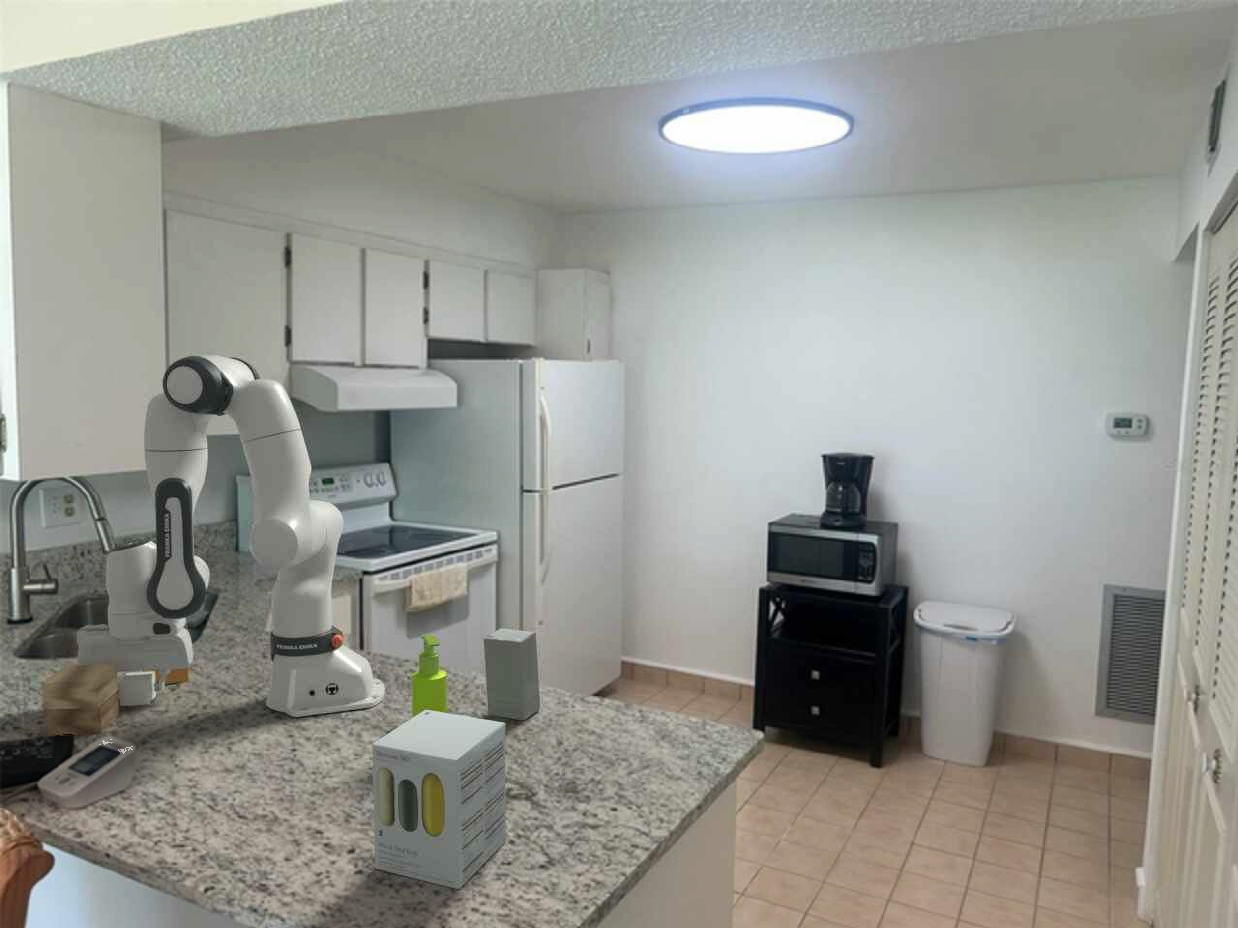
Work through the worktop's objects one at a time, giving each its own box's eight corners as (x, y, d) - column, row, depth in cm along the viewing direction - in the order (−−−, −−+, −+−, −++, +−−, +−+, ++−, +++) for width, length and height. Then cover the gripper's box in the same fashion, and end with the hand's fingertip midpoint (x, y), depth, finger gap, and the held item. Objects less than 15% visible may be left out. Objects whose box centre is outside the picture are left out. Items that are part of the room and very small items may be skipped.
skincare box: (540, 710, 173) (540, 630, 171) (521, 723, 167) (521, 641, 165) (503, 703, 177) (503, 625, 175) (483, 716, 170) (482, 635, 168)
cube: (156, 695, 180) (154, 671, 179) (148, 704, 175) (146, 679, 174) (129, 696, 179) (127, 672, 178) (120, 706, 174) (118, 681, 173)
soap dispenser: (419, 758, 152) (417, 644, 149) (409, 743, 158) (407, 632, 156) (453, 751, 154) (452, 639, 152) (441, 736, 161) (440, 628, 158)
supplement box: (371, 869, 119) (368, 743, 117) (427, 822, 131) (425, 707, 129) (459, 891, 114) (457, 760, 112) (508, 840, 126) (507, 721, 124)
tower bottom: (119, 714, 170) (118, 689, 169) (101, 734, 161) (100, 707, 161) (67, 717, 168) (65, 692, 168) (46, 737, 160) (44, 710, 159)
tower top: (118, 689, 169) (116, 663, 169) (98, 707, 161) (96, 680, 160) (66, 691, 168) (65, 665, 167) (43, 709, 159) (42, 682, 159)
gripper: (69, 630, 170) (73, 700, 172) (184, 625, 174) (188, 694, 175) (82, 620, 176) (86, 688, 178) (194, 616, 180) (196, 682, 182)
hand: (137, 691), depth 177 cm, fingers open, 6 cm apart
